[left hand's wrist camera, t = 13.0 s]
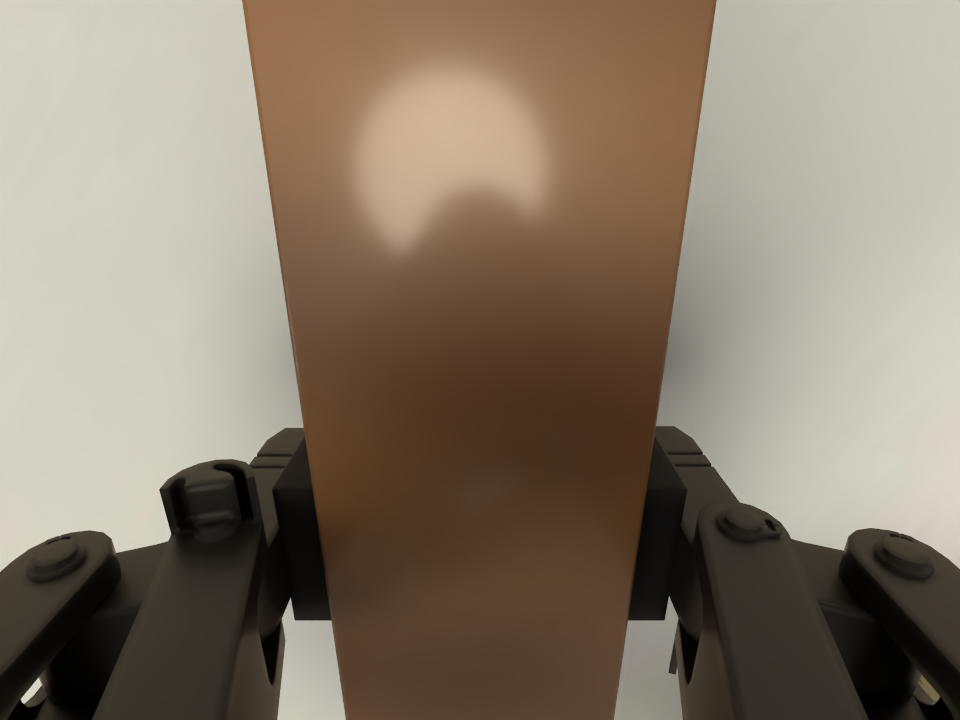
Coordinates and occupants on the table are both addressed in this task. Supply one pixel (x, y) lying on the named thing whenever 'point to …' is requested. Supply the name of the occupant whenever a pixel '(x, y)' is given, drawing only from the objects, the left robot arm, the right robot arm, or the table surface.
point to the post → (479, 326)
